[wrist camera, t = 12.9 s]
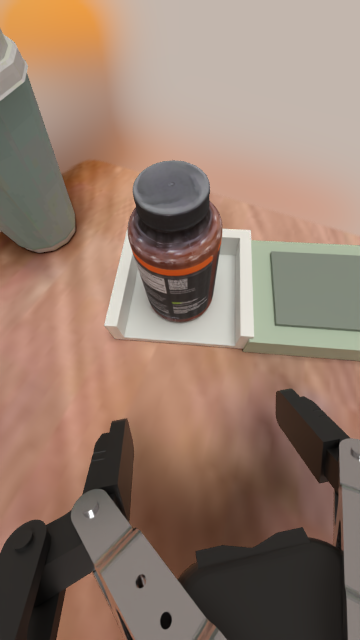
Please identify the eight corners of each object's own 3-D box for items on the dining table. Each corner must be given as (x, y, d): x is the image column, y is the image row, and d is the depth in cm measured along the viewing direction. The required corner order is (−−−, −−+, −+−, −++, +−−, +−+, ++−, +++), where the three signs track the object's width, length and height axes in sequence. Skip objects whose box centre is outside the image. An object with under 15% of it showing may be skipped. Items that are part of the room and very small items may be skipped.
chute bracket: (114, 338, 22) (104, 325, 19) (134, 246, 26) (128, 224, 23) (245, 349, 21) (254, 336, 18) (244, 251, 25) (250, 230, 23)
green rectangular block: (242, 351, 21) (250, 340, 18) (241, 257, 25) (248, 237, 22) (391, 363, 20) (421, 353, 17) (365, 264, 24) (386, 243, 22)
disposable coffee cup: (8, 283, 25) (-217, 101, 11) (-7, 214, 29) (-183, 20, 15) (107, 245, 26) (18, 45, 13) (80, 185, 30) (-9, -15, 17)
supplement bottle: (189, 259, 24) (189, 133, 14) (225, 303, 22) (257, 193, 12) (136, 287, 23) (94, 173, 13) (169, 337, 21) (150, 247, 11)
